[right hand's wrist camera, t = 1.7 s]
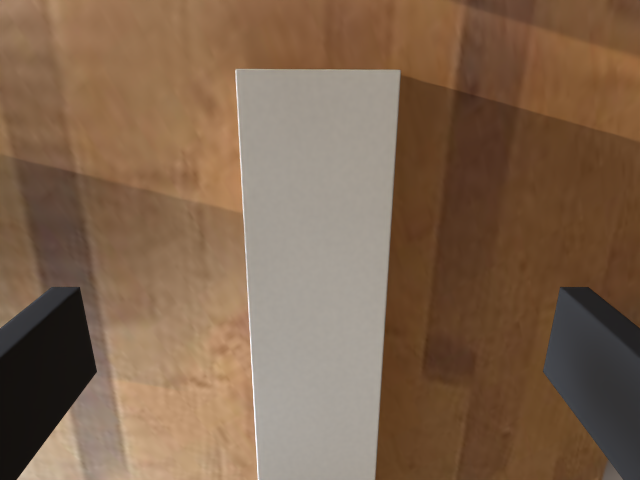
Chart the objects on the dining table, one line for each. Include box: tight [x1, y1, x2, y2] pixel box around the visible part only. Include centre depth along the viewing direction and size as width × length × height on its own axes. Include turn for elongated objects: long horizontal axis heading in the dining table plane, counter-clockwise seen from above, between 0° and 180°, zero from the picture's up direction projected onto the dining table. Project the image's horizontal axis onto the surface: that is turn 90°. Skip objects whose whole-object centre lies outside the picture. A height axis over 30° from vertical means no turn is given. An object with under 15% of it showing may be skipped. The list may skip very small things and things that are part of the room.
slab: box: [235, 69, 401, 480], centre depth 41 cm, size 61×10×7 cm, turn 0°
